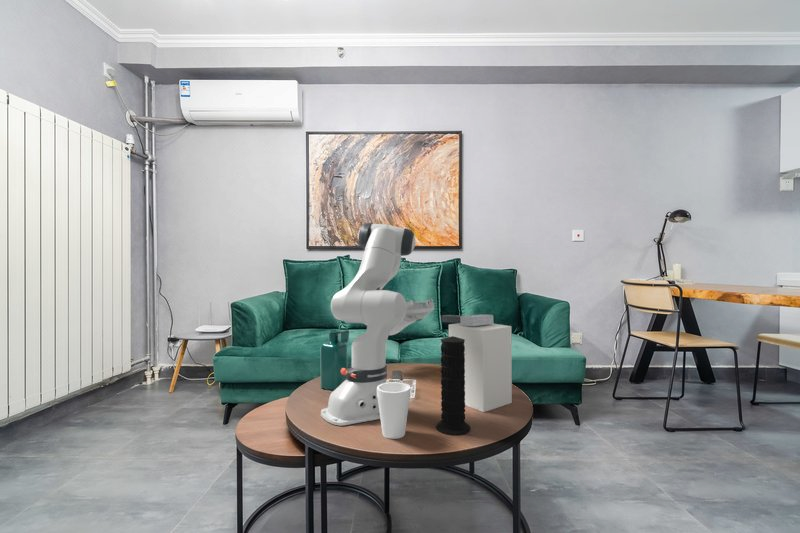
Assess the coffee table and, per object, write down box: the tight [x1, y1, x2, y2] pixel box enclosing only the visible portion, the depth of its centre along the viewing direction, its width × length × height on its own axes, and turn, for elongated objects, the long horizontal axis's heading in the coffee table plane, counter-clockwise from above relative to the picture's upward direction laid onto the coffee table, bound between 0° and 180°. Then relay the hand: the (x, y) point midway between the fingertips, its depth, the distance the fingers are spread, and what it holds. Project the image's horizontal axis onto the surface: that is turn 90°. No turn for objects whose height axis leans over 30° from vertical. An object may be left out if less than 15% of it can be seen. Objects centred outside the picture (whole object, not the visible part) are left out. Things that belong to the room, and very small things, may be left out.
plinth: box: [448, 323, 513, 413], centre depth 136 cm, size 14×16×26 cm
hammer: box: [441, 314, 495, 326], centre depth 142 cm, size 10×20×3 cm, turn 36°
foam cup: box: [377, 381, 411, 440], centre depth 110 cm, size 10×9×13 cm
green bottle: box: [319, 329, 350, 391], centre depth 152 cm, size 10×8×22 cm
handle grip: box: [435, 336, 472, 436], centre depth 113 cm, size 10×26×10 cm
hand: (422, 300), depth 161 cm, fingers open, 8 cm apart
